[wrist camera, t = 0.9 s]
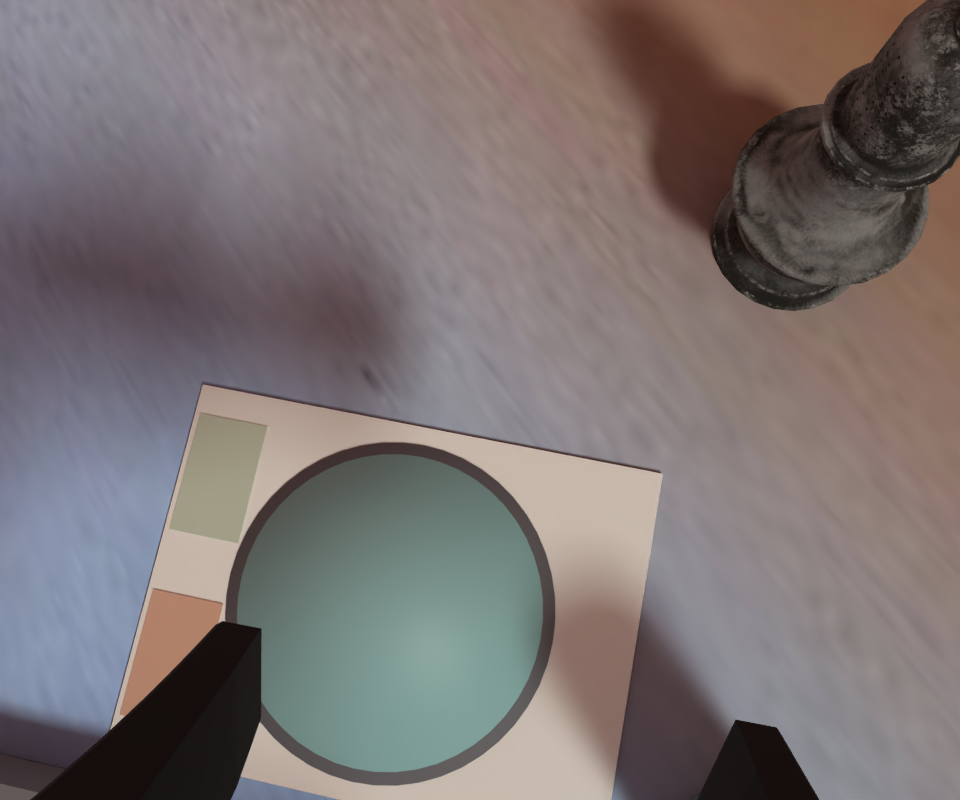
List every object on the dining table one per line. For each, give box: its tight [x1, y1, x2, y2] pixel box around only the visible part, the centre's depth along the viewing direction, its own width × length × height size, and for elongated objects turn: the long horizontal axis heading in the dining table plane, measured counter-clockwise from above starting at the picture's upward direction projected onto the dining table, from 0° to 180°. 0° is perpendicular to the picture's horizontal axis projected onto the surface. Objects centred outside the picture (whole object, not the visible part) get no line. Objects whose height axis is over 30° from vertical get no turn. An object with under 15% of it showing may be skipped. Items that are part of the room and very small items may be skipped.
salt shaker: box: [711, 0, 960, 311], centre depth 20 cm, size 6×6×12 cm
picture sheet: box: [110, 385, 663, 800], centre depth 24 cm, size 12×16×1 cm
